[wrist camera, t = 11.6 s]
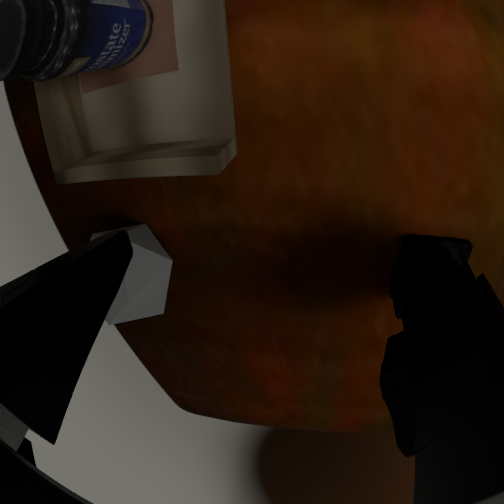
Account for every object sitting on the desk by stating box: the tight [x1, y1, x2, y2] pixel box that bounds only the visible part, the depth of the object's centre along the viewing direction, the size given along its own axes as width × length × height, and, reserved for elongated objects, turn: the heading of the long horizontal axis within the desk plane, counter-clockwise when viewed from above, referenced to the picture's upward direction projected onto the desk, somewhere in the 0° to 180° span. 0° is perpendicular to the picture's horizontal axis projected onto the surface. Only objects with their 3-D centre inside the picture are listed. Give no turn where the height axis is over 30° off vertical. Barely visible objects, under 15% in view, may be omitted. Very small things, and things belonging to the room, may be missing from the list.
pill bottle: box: [0, 0, 154, 82], centre depth 11 cm, size 6×6×11 cm
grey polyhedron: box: [90, 224, 173, 325], centre depth 25 cm, size 8×9×10 cm
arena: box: [34, 0, 237, 185], centre depth 16 cm, size 14×16×4 cm
